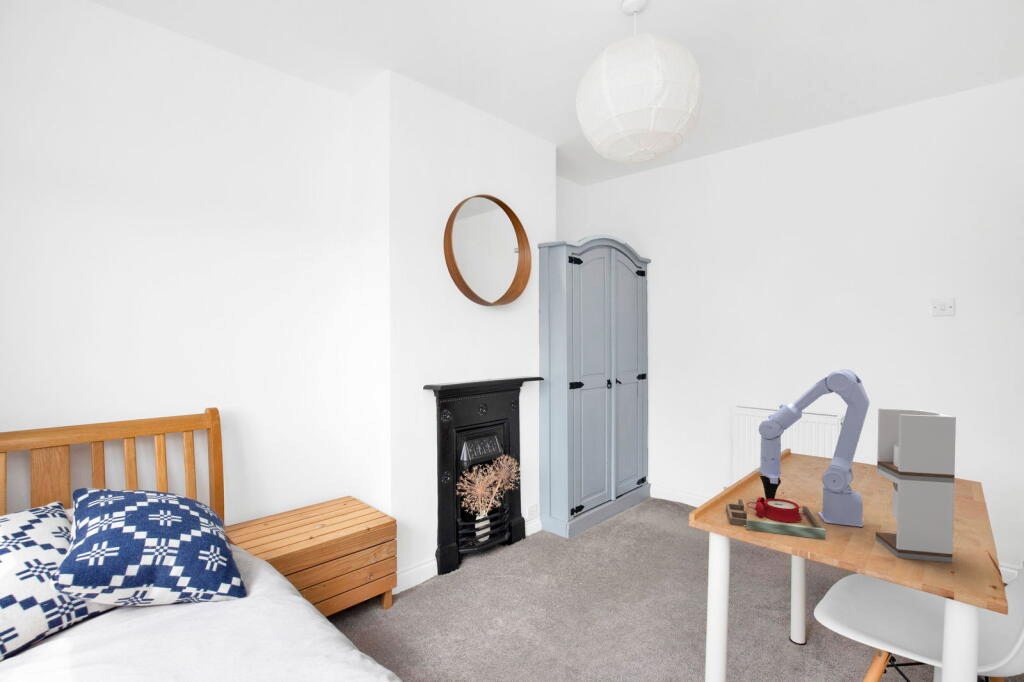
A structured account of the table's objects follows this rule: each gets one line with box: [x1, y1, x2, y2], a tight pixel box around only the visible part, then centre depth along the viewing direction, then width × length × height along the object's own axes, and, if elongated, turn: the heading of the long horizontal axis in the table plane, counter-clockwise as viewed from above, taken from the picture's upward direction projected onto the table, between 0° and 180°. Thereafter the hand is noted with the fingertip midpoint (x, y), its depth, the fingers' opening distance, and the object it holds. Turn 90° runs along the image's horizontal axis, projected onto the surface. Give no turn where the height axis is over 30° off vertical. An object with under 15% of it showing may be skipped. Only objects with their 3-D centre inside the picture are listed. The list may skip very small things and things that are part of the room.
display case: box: [875, 408, 957, 563], centre depth 124 cm, size 11×11×35 cm
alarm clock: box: [746, 496, 805, 524], centre depth 147 cm, size 10×6×15 cm
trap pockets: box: [725, 502, 746, 526], centre depth 146 cm, size 4×13×2 cm, turn 161°
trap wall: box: [737, 498, 827, 540], centre depth 143 cm, size 19×21×2 cm
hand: (769, 499), depth 156 cm, fingers closed
